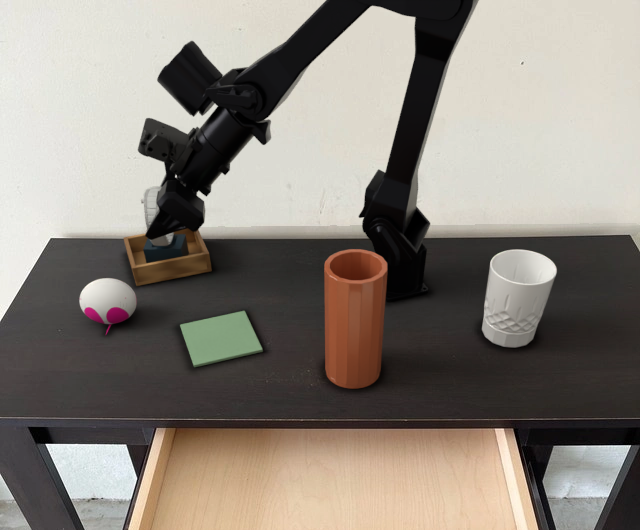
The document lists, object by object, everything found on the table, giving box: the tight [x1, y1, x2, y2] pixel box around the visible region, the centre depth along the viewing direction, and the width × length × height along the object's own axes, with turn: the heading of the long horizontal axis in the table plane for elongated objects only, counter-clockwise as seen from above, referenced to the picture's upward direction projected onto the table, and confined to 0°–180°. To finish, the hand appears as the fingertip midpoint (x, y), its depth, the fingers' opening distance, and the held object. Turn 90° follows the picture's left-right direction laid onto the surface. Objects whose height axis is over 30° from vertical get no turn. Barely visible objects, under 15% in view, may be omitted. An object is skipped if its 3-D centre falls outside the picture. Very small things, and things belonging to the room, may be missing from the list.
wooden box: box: [123, 229, 213, 287], centre depth 99 cm, size 11×9×3 cm
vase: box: [323, 248, 387, 390], centre depth 77 cm, size 7×7×15 cm
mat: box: [179, 310, 264, 368], centre depth 87 cm, size 9×9×1 cm
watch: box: [140, 185, 189, 263], centre depth 96 cm, size 6×8×11 cm
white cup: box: [481, 249, 558, 348], centre depth 83 cm, size 8×8×10 cm
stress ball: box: [77, 277, 138, 335], centre depth 89 cm, size 8×8×7 cm
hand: (150, 222), depth 95 cm, fingers closed on watch, 8 cm apart
